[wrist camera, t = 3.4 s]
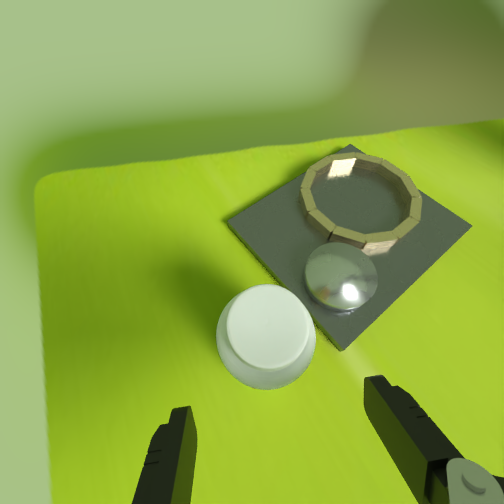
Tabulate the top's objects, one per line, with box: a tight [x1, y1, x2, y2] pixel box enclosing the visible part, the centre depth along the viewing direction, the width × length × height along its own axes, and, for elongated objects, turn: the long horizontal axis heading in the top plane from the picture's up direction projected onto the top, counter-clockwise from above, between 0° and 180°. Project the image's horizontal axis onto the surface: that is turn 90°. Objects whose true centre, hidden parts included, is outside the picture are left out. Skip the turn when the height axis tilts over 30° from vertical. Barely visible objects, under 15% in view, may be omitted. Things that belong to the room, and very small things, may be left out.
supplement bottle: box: [216, 284, 316, 390], centre depth 16 cm, size 6×6×10 cm
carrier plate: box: [227, 144, 472, 352], centre depth 25 cm, size 19×16×2 cm
